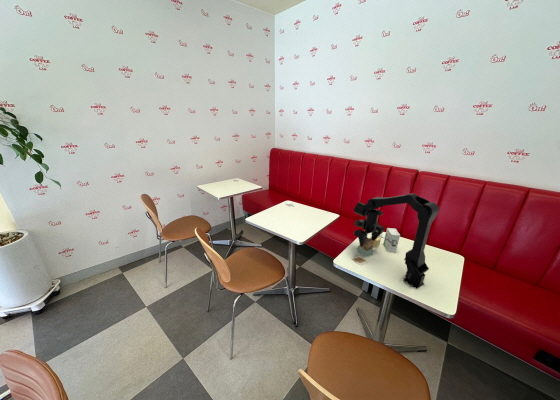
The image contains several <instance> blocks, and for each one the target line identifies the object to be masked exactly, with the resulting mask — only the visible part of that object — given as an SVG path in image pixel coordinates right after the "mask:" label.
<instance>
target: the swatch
mask: <svg viewBox="0 0 560 400" xmlns="http://www.w3.org/2000/svg"><path fill="white" fill-rule="evenodd" d="M351 260H352V261H354V263H356V264H357V265H359V266H362V265H365V264H367V263H368V260H366V259H364V258H363V257H362V256H360V255H358V256H355V257H353V258H351Z"/></svg>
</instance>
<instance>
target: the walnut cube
mask: <svg viewBox="0 0 560 400" xmlns="http://www.w3.org/2000/svg"><path fill="white" fill-rule="evenodd" d="M369 238H370V237H368V236H367V239H366V241H365V243H364V245H363V246H362V247H361V246H360V245H359V246H360V247H361V248H362V249H364V250H366V251H369V250H371V249H374V247H373V245H374V241H373V240H371V239H369Z"/></svg>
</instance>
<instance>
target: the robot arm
mask: <svg viewBox="0 0 560 400" xmlns="http://www.w3.org/2000/svg"><path fill="white" fill-rule="evenodd" d="M400 204H402V205H403V204H408V205H409V206H410V207H411V209H412V210H413V211H415V212H416V213H417V215H416V217H417V220H418V225H417V229H416V233H415V237H414V241H413V244H412V248H411V249H410V250H408V251H406V252H405V257H404V258H403V260H404V264H405V266H406V272H405V275H404V278H403V281H404V282H405V283H407V284H409V285H410V286H411V287H413V288H414V289H419V288H420V287H422V286H423V285H424V284H425V282H424V280H425V277H426V272H428V271H429V270H430V268H429V267H428V265H427V264H426V255H425V248H426V244H427V241H428V236H429V233H430V229H431V226H432V223H433V222H434V221H435V219H436V218H437V216H438V214H439V212H440V206H439V205H438V204H437V203H435V202H433V201H432V202H431V201H429V200H428V199H426V198H424V197H421V196H419V195H418V194H416V193H408V194H401V195H396V196H395V195H394V196H391V197H385V196H376V197H373V198H369V199H368V200H367V202H366V203H363V202H360V201H359V202H357V203H356V205H355V206H354V208H353V213H354V214H357V215H359V216H361V217H363V218H364V217H365V219H359V220H354V222H353V223H354V226H355V227H357V228H359V229H356V230H354V231H353V236H355V237H357V238H358V241H359V246H361V247H362V246H363V245H364V243H365V241H366V239H367V237H368V235H370V234H371V236H372V237H371V236H370V237H371V240H373V241H375V240H376V239H377V238H378V237H380V236H381V235H382V234H383V233H384V232H385V227H384V226H382V225H380V223H379V222H378V219H379V216H383V214H384V212H382V210H381V209H379V208H382V207H383V208H384V207H386V206H393V205H394V206H395V205H400Z"/></svg>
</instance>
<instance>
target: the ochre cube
mask: <svg viewBox="0 0 560 400" xmlns="http://www.w3.org/2000/svg"><path fill="white" fill-rule="evenodd" d="M371 237H372V235H371V236H370V237H368V238H369V239H371ZM381 240H382V237H380V236H379V237H378V238H377V239H376V240H375V241H374V245H373V248H376V249H377V248H378V247H379V246H380V245H381Z"/></svg>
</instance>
